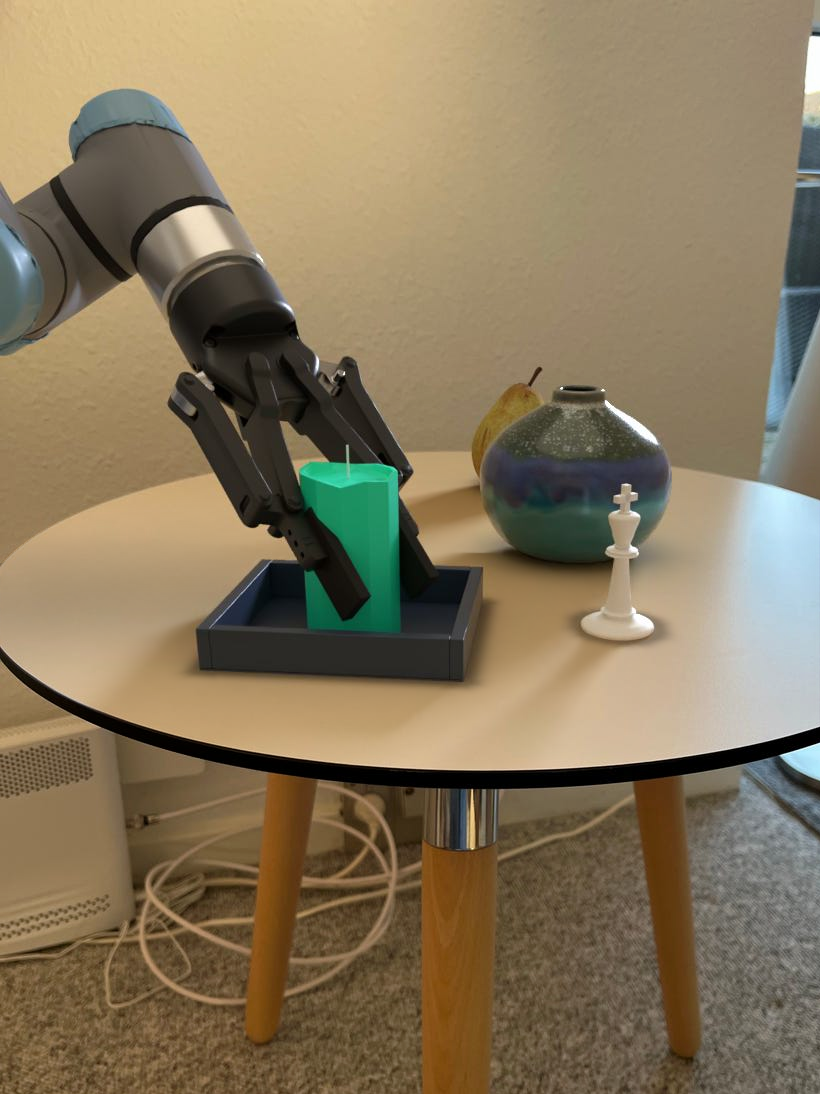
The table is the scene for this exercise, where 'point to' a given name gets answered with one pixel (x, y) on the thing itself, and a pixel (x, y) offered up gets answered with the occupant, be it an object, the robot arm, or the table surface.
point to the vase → (572, 477)
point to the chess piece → (620, 580)
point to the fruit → (504, 416)
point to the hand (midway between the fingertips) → (391, 597)
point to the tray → (291, 648)
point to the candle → (357, 539)
